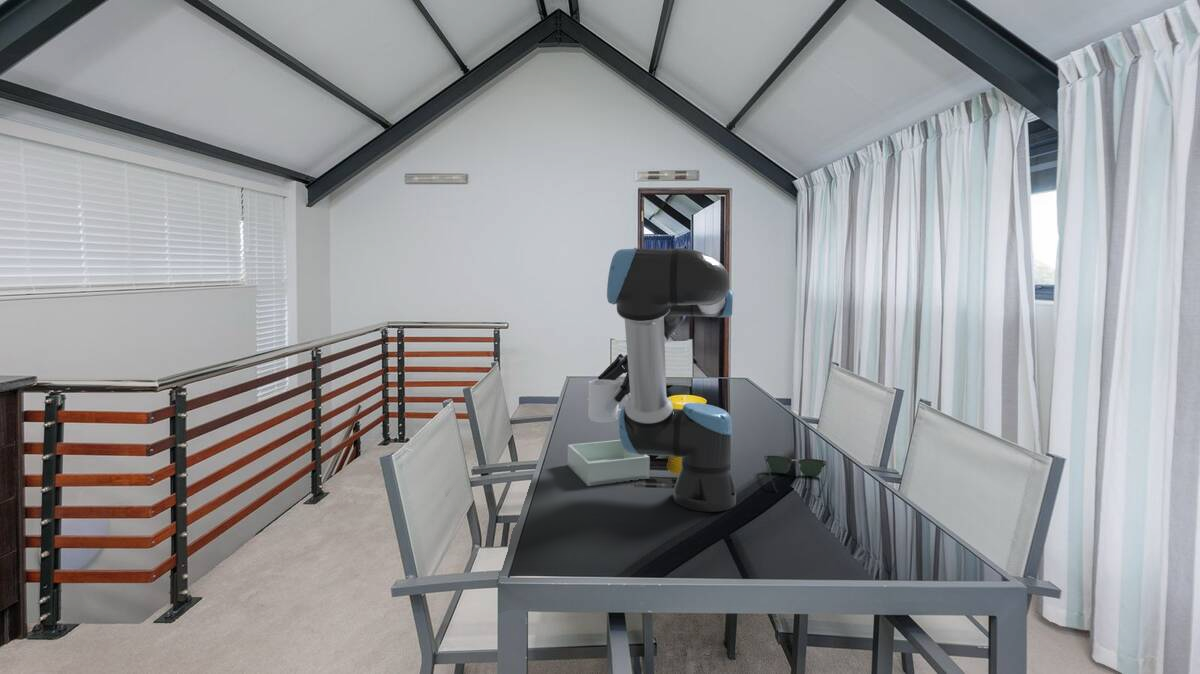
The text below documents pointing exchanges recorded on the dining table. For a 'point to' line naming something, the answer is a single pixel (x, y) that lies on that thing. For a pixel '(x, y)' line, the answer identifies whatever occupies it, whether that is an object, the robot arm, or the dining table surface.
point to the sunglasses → (806, 465)
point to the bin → (606, 463)
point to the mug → (602, 400)
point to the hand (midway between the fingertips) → (598, 405)
